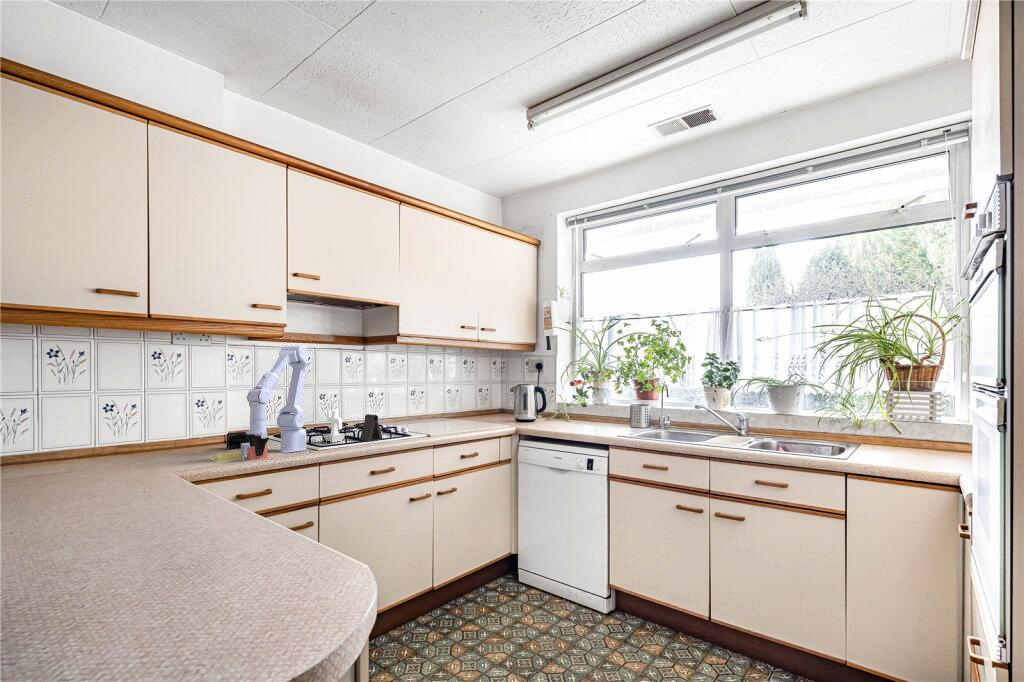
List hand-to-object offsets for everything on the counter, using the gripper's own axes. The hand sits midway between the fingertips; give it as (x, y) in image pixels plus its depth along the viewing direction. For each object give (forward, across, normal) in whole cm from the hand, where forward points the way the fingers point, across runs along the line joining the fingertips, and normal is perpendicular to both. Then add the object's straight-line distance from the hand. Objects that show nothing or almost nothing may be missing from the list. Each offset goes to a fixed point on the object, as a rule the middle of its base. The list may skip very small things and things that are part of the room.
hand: (257, 455), depth 194 cm
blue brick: (+2, -11, 0) cm, 11 cm away
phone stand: (+2, -11, +54) cm, 56 cm away
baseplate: (+1, -6, -8) cm, 10 cm away
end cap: (+2, -29, +2) cm, 29 cm away
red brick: (+1, 0, 0) cm, 1 cm away
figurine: (+2, -16, +38) cm, 42 cm away
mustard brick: (+1, -6, -8) cm, 10 cm away
